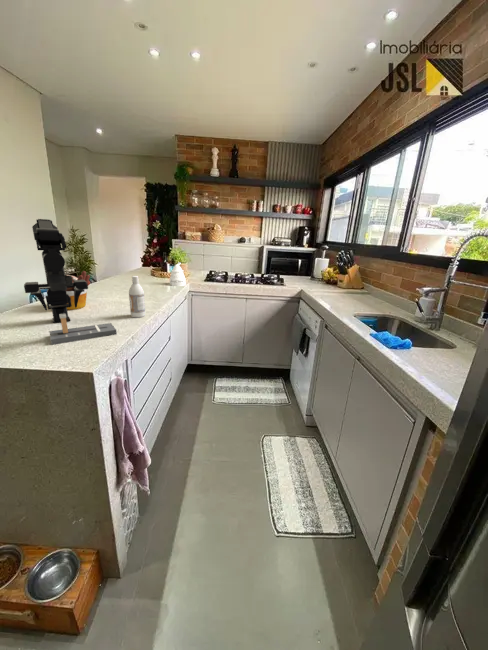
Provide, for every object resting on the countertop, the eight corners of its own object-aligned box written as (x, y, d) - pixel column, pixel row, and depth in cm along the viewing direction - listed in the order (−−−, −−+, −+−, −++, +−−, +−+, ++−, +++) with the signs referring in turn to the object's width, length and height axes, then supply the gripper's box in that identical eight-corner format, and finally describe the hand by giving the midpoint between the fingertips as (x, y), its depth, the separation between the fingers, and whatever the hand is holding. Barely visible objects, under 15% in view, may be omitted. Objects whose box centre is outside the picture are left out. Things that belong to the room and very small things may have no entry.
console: (50, 336, 104) (49, 330, 103) (111, 327, 116) (110, 322, 116) (51, 344, 96) (50, 339, 95) (116, 334, 109) (116, 329, 108)
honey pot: (181, 282, 228) (180, 261, 222) (188, 285, 219) (188, 263, 213) (167, 284, 220) (166, 261, 214) (174, 286, 211) (173, 263, 205)
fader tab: (62, 330, 103) (59, 314, 100) (68, 330, 104) (65, 313, 102) (62, 333, 100) (59, 316, 98) (69, 332, 101) (66, 315, 99)
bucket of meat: (44, 310, 135) (36, 270, 128) (67, 302, 150) (61, 267, 144) (81, 313, 134) (75, 273, 127) (100, 305, 149) (96, 269, 143)
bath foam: (129, 314, 135) (126, 275, 129) (143, 313, 139) (141, 275, 132) (132, 318, 130) (128, 277, 123) (146, 316, 133) (144, 277, 127)
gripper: (19, 270, 82) (29, 318, 88) (87, 268, 93) (93, 311, 98) (20, 265, 91) (29, 309, 96) (83, 264, 102) (88, 304, 107)
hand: (61, 308), depth 99 cm, fingers open, 9 cm apart
